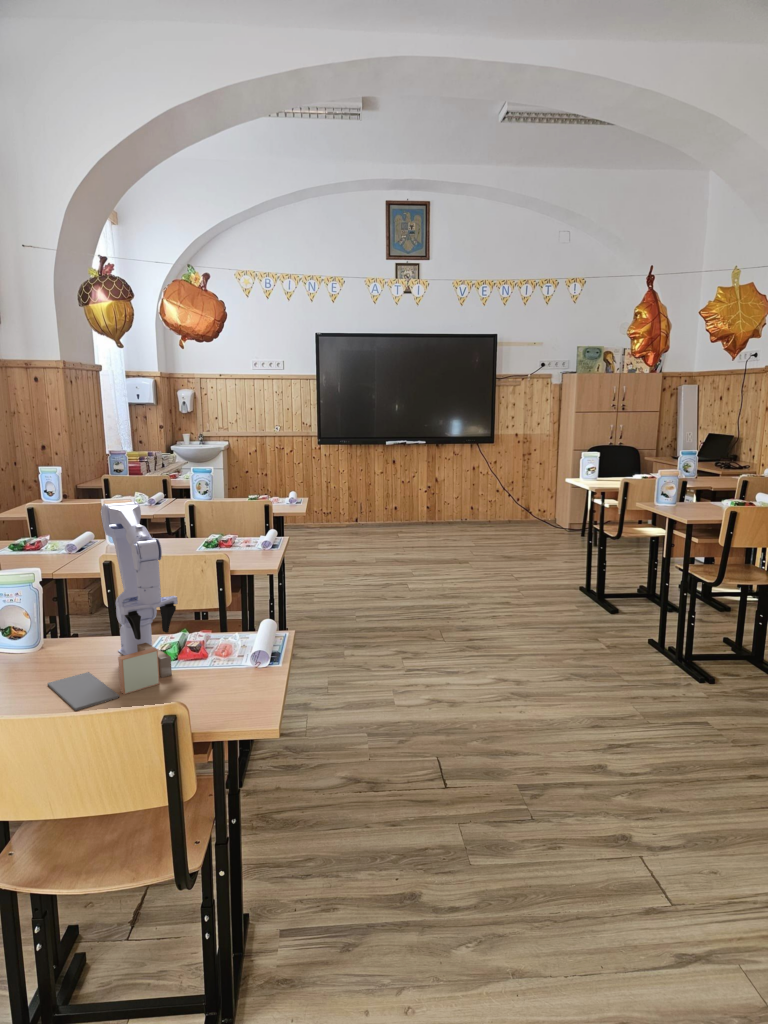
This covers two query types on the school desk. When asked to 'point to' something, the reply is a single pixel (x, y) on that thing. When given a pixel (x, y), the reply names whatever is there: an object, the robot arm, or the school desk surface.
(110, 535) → the robot arm
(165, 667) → the brown block
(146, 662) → the tile
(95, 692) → the mat
